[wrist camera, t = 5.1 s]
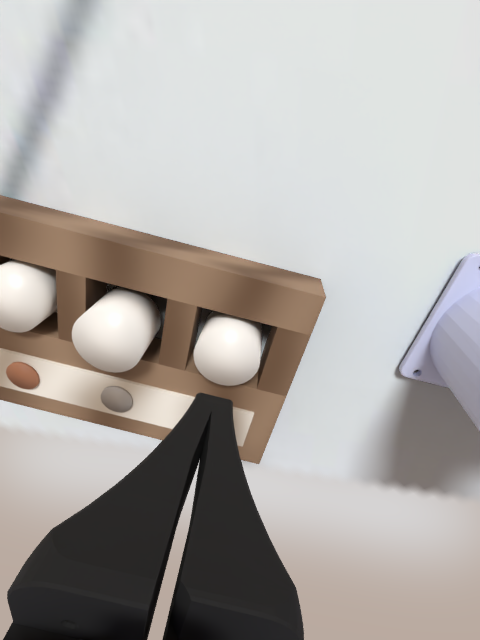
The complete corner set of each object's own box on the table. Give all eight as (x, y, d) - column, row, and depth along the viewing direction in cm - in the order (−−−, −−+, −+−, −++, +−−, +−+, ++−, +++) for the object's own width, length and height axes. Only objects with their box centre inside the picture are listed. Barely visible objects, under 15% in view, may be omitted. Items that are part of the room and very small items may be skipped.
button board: (320, 279, 19) (327, 300, 16) (260, 435, 25) (258, 469, 22) (-30, 187, 18) (-80, 194, 16) (-1, 370, 25) (-34, 396, 22)
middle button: (164, 296, 18) (145, 322, 16) (157, 348, 20) (139, 379, 18) (100, 279, 18) (71, 303, 16) (99, 333, 20) (72, 362, 17)
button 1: (70, 262, 19) (37, 280, 17) (71, 314, 21) (41, 339, 18) (9, 246, 19) (-33, 262, 17) (15, 300, 21) (-22, 323, 18)
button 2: (269, 313, 20) (267, 339, 17) (254, 361, 21) (250, 392, 19) (210, 298, 20) (199, 322, 17) (199, 347, 21) (188, 376, 19)
